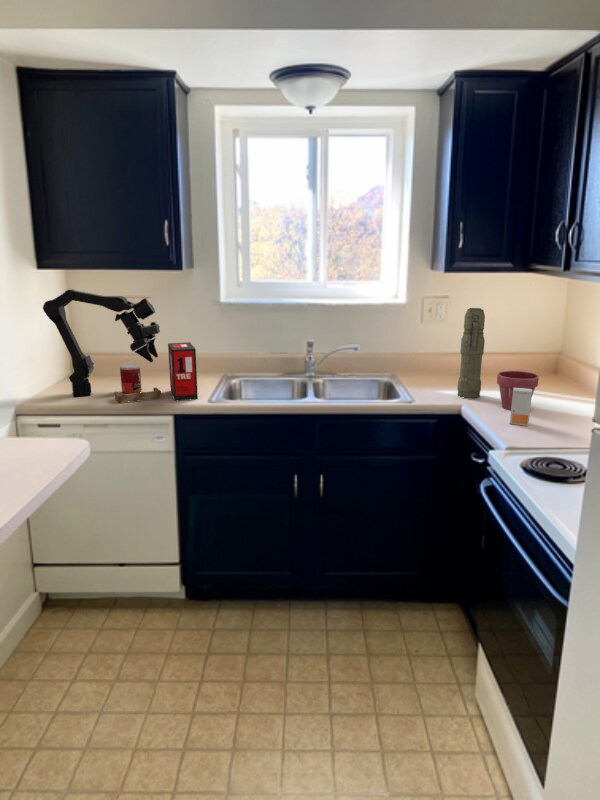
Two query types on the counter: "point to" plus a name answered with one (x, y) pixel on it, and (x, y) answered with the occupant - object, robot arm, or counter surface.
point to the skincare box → (521, 406)
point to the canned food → (130, 379)
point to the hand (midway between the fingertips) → (154, 359)
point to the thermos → (471, 354)
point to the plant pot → (514, 384)
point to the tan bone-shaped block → (138, 396)
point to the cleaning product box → (183, 371)
